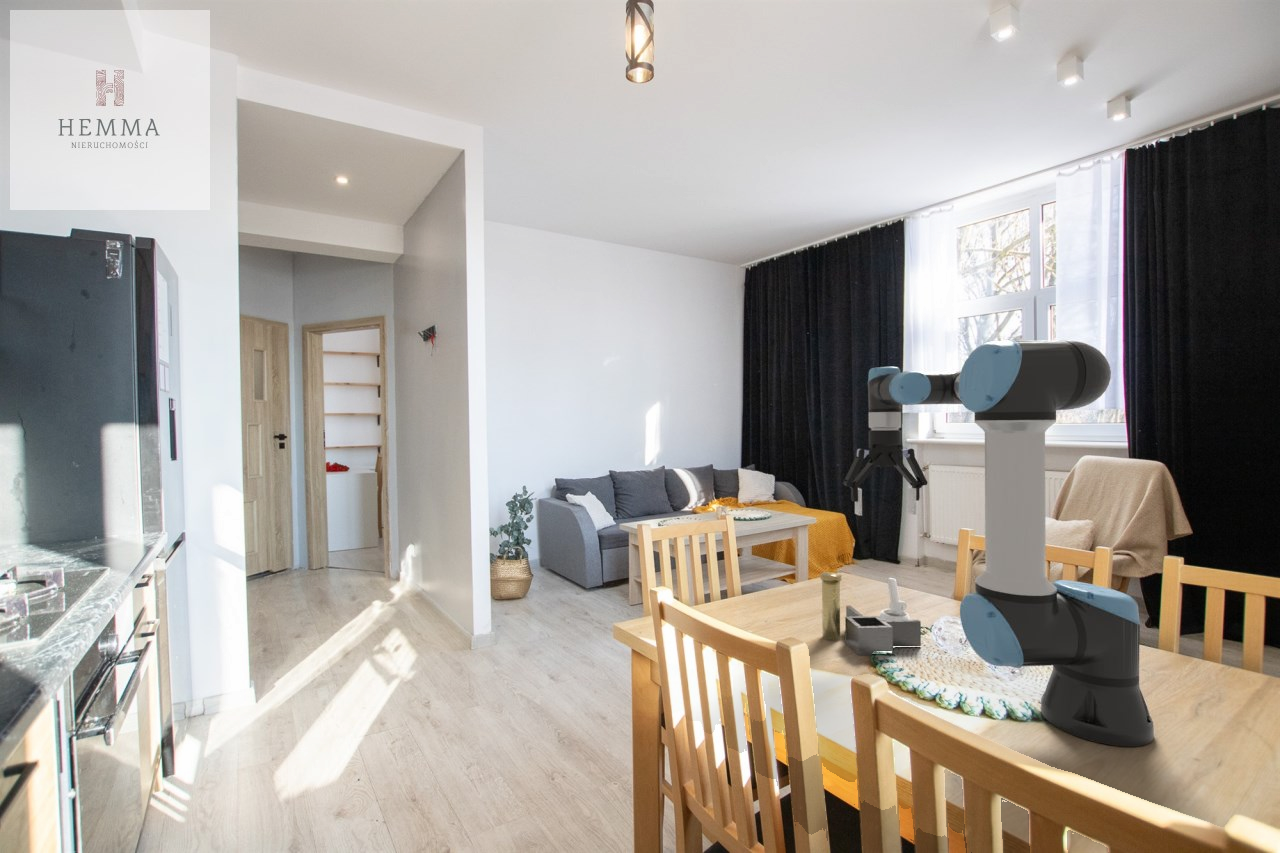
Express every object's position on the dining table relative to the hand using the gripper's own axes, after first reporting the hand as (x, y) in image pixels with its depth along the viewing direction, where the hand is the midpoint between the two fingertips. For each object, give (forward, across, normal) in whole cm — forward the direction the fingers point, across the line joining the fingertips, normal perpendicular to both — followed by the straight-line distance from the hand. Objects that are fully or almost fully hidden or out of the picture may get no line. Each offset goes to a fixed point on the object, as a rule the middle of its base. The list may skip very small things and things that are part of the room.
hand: (885, 514), depth 149 cm
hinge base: (+28, +6, +10) cm, 30 cm away
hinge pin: (+28, +16, +8) cm, 33 cm away
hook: (+28, -4, -5) cm, 29 cm away
